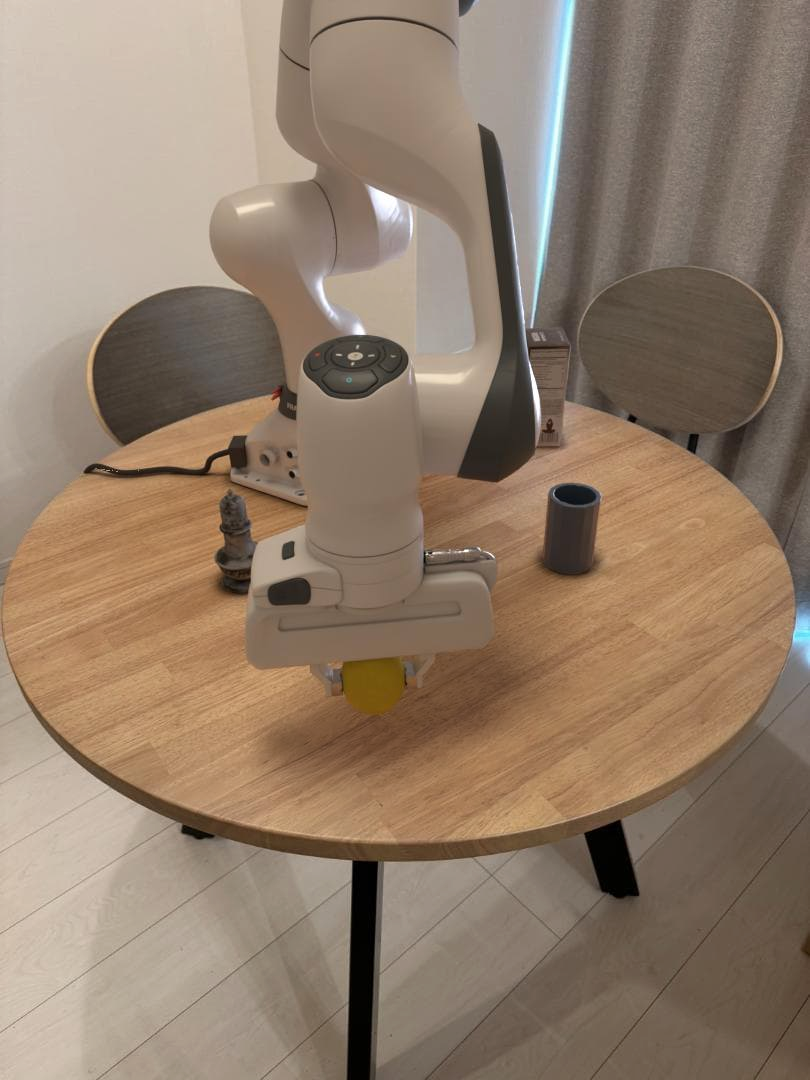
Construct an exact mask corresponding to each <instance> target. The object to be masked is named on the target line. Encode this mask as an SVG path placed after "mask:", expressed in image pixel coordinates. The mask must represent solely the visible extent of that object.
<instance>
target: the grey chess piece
mask: <svg viewBox="0 0 810 1080" xmlns="http://www.w3.org/2000/svg"><path fill="white" fill-rule="evenodd" d="M226 493H227V494H226V495H224V496H223V497H222V498H220V500H219V503H218V508H219V513H220V519H221V523H220V524H219V527H218V528H219V531H220V532H221V533H222V534H223V539H224V545H223V546H221V547H220V548H219V549H218V550H217V551H216V552H215V554H214V557H213V558H214V562H215V564H216V565H217V566H218V568H219V569H220V571H221V572H222V573H223V575H224V576H223V577H222V579H221V585H222V588H223V589H224V590H226V591H227V592H229V593H233V594H248V591H249V586H250V583H251V565H252V560H253V555H254V552H255V548H256V545H257V544H258V543H259V541H255V540H253V538H252V531H251V529H252V527H253V522H252V520H251V519H249V518H248V511H247V505H246V501H245V499H244V497H243V496H242V495H240V494H237V493H236V494H235V493H234V490H232V489H231V488H229V489H228V490H227V491H226Z"/></svg>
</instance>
